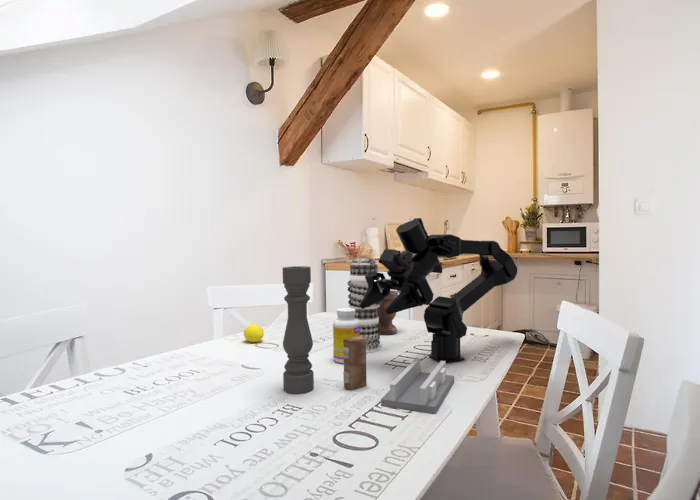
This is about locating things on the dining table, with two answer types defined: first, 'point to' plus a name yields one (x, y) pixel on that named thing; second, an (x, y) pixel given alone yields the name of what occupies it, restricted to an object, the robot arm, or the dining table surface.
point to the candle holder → (297, 331)
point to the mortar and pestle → (386, 315)
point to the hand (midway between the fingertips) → (373, 309)
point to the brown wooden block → (354, 362)
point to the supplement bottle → (344, 331)
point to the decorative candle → (357, 292)
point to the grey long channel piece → (419, 388)
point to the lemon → (253, 333)
